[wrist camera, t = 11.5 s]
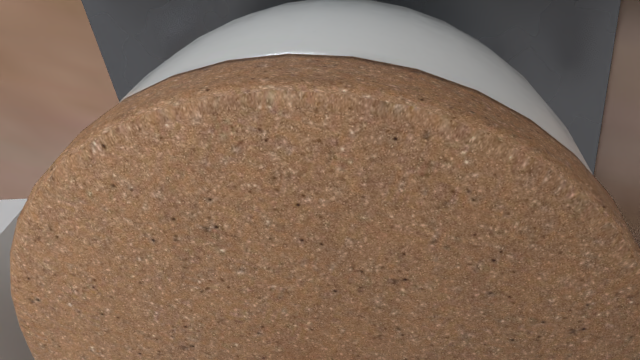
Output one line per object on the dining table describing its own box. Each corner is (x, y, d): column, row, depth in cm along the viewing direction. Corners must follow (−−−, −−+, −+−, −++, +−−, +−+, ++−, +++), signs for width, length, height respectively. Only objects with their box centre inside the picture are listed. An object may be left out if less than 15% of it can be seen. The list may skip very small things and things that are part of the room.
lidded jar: (154, 230, 19) (-17, 534, 11) (181, -122, 13) (-164, 29, 5) (463, 310, 19) (500, 658, 12) (638, 6, 13) (969, 331, 5)
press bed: (38, -182, 13) (-127, -165, 9) (647, -292, 11) (793, -335, 7) (251, 421, 26) (223, 537, 22) (545, 431, 24) (572, 562, 20)
